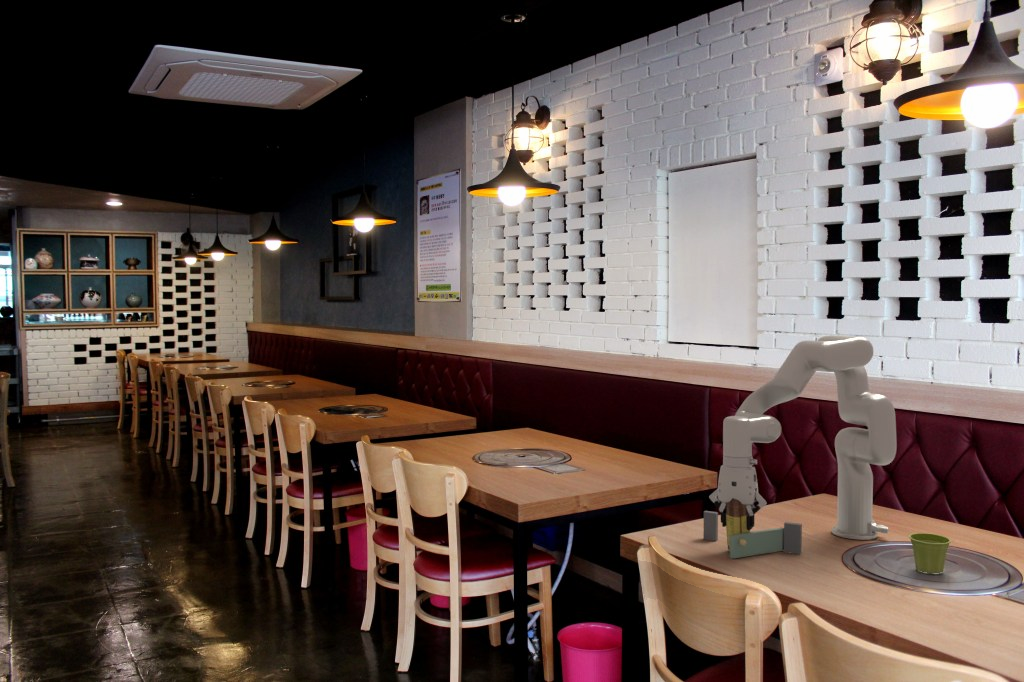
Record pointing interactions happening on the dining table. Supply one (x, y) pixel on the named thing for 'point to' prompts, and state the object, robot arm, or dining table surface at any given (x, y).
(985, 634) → the dining table surface
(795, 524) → the partition wall
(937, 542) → the plant pot
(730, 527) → the sauce bottle
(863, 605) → the dining table surface
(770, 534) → the door
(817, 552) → the dining table surface
